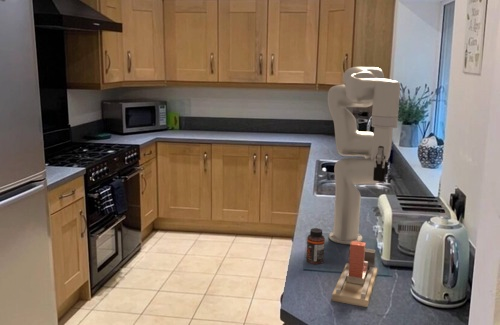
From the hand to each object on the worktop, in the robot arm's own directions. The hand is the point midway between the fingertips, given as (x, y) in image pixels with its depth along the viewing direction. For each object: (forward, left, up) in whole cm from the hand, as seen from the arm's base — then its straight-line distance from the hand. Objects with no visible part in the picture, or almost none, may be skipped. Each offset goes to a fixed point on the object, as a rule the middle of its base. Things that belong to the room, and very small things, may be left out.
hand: (380, 177), depth 151 cm
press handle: (+9, -4, -30) cm, 32 cm away
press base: (+10, -4, -32) cm, 34 cm away
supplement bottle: (-4, -20, -32) cm, 38 cm away
